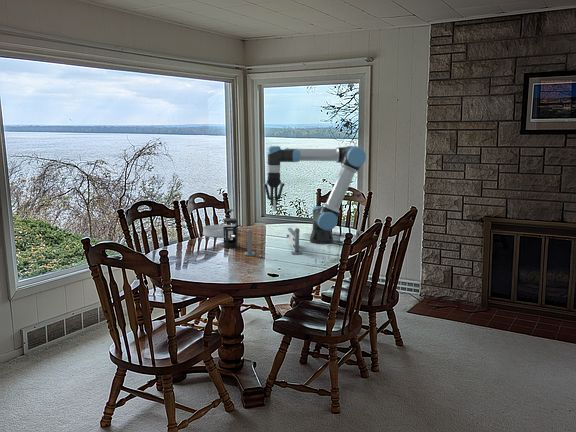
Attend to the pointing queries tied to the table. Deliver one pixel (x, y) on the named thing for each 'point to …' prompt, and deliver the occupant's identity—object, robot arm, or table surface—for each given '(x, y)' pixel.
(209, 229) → the dish
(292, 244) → the grey long flat block
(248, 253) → the posts
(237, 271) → the table surface
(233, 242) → the french press
